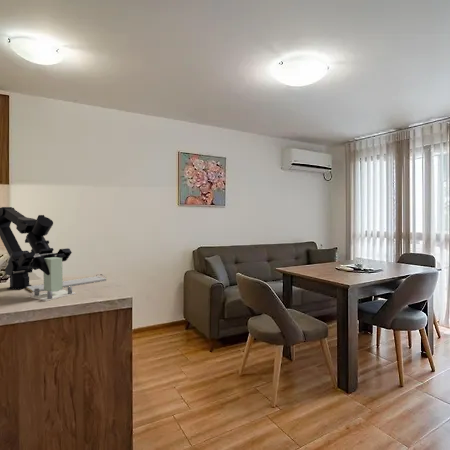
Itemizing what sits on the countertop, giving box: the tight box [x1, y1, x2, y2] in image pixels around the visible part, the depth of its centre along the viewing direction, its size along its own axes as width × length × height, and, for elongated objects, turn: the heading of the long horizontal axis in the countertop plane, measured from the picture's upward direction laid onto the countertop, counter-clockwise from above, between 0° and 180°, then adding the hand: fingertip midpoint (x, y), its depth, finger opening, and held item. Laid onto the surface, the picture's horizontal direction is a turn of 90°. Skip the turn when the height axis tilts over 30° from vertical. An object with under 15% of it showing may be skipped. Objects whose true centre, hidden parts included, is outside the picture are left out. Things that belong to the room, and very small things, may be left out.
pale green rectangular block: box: [43, 257, 64, 292], centre depth 119 cm, size 5×4×12 cm
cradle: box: [30, 286, 77, 302], centre depth 119 cm, size 10×12×3 cm
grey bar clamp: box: [25, 274, 107, 293], centre depth 139 cm, size 31×3×12 cm
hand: (55, 273), depth 118 cm, fingers closed on pale green rectangular block, 4 cm apart
